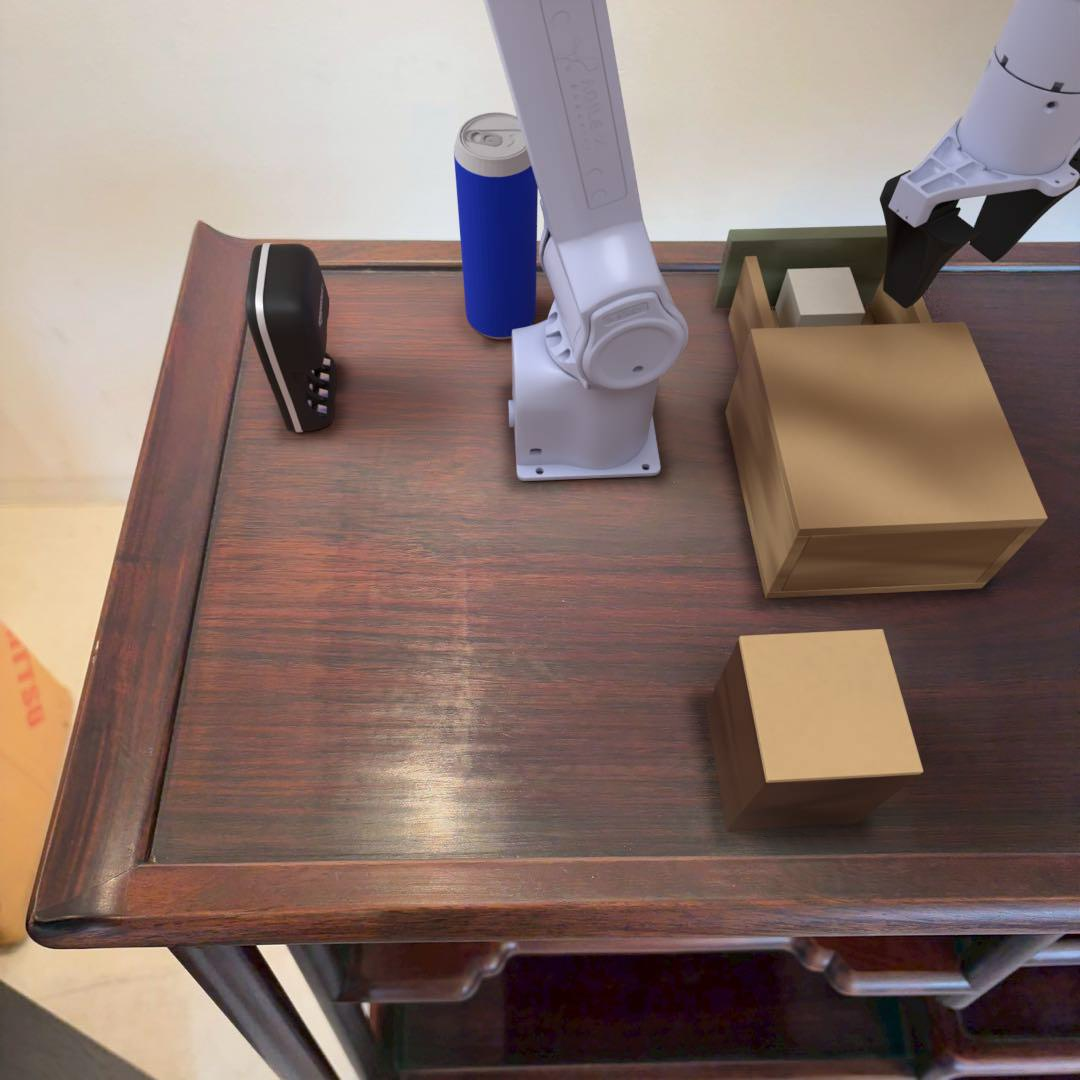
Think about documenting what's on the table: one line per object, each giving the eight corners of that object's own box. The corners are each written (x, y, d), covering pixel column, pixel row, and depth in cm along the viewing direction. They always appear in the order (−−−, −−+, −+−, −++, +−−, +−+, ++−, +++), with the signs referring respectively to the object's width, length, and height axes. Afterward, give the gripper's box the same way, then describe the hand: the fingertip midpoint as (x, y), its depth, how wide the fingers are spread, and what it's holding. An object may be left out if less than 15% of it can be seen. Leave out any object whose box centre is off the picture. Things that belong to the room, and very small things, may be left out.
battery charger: (343, 435, 60) (308, 310, 50) (287, 437, 60) (240, 313, 50) (348, 358, 64) (316, 227, 54) (294, 360, 64) (252, 230, 54)
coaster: (765, 783, 39) (768, 780, 39) (738, 639, 43) (739, 635, 43) (920, 774, 40) (924, 771, 39) (880, 632, 43) (883, 628, 43)
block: (787, 352, 62) (800, 314, 59) (774, 307, 64) (787, 268, 61) (848, 350, 62) (865, 312, 59) (834, 305, 65) (849, 266, 61)
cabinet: (724, 412, 62) (750, 328, 55) (916, 405, 62) (965, 321, 55) (764, 598, 54) (800, 528, 47) (982, 588, 55) (1048, 518, 48)
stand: (726, 831, 47) (765, 783, 39) (705, 705, 51) (738, 639, 43) (855, 823, 47) (920, 774, 40) (826, 699, 51) (880, 632, 43)
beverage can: (539, 296, 67) (542, 112, 54) (532, 346, 65) (534, 165, 52) (471, 290, 67) (459, 106, 55) (461, 340, 65) (446, 159, 52)
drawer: (709, 286, 67) (726, 217, 61) (871, 281, 67) (901, 212, 62) (744, 441, 59) (766, 378, 54) (926, 435, 60) (966, 371, 54)
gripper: (1015, 152, 40) (904, 361, 51) (1215, 56, 44) (1070, 269, 56) (902, 73, 43) (821, 287, 54) (1100, -9, 47) (985, 206, 59)
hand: (941, 274), depth 55 cm, fingers open, 7 cm apart
